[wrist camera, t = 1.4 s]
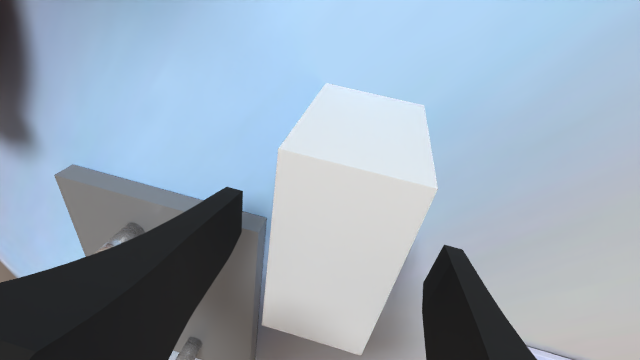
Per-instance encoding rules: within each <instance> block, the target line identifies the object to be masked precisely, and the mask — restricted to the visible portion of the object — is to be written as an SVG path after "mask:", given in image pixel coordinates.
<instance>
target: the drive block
mask: <svg viewBox="0 0 640 360" xmlns="http://www.w3.org/2000/svg"><path fill="white" fill-rule="evenodd" d="M437 190H438V186H437V180H436V174H435V168H434V162H433V156H432V150H431V144H430V137H429V131H428V125H427V119H426V113H425V107H424V105H420V104H416V103H411V102H407V101H402V100H398V99H394V98H389V97H385V96H381V95H376V94H372V93H368V92H363V91H359V90H354V89H350V88H346V87H341V86H337V85H333V84H328V83H325V85H324V86H323V88H322V89H321V90H320V92H319V93H318V94H317V96H316V97H315V99H314V100H313V101H312V103H311V104H310V106H309V107H308V108H307V110H306V111H305V112H304V114H303V115H302V117H301V118H300V119H299V121H298V122H297V123H296V125H295V126H294V128H293V129H292V130H291V132H290V133H289V135H288V136H287V137H286V139H285V140H284V141H283V143H282V144H281V146H280V147H279V148H278V158H277V168H276V179H275V190H274V200H273V211H272V222H271V232H270V243H269V254H268V264H267V275H266V286H265V296H264V307H263V318H262V325H263V326H266V327H270V328H273V329H276V330H279V331H283V332H286V333H289V334H292V335H296V336H299V337H302V338H305V339H309V340H312V341H315V342H318V343H322V344H325V345H328V346H331V347H334V348H338V349H341V350H344V351H347V352H351V353H354V354H357V355H360V356H361V355H362V353H363V351H364V348H365V346H366V344H367V342H368V340H369V338H370V335H371V333H372V331H373V329H374V327H375V325H376V322H377V320H378V318H379V316H380V314H381V311H382V309H383V307H384V305H385V303H386V301H387V298H388V296H389V294H390V292H391V290H392V288H393V285H394V283H395V281H396V279H397V277H398V275H399V272H400V270H401V268H402V266H403V264H404V261H405V259H406V257H407V255H408V253H409V251H410V248H411V246H412V244H413V242H414V240H415V238H416V235H417V233H418V231H419V229H420V227H421V224H422V222H423V220H424V218H425V216H426V214H427V211H428V209H429V207H430V205H431V203H432V201H433V198H434V196H435V194H436V192H437Z"/></svg>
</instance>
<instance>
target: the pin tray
mask: <svg viewBox="0 0 640 360" xmlns="http://www.w3.org/2000/svg"><path fill="white" fill-rule="evenodd" d="M54 176H55V178H56V181H57V183H58V186H59V189H60V191H61V194H62V196H63V199H64V201H65V204H66V207H67V209H68V212H69V214H70V217H71V220H72V222H73V225H74V227H75V230H76V232H77V235H78V238H79V240H80V243H81V245H82V248H83V251H84V253H85V256H86V257H87V256H90V255H92V254H95V253H98V252H101V251H103V250H106V249H109V248H111V247H114V246H116V245H118V244H121V243H123V242H126V241H128V240H130V239H133V238H135V237H137V236H139V235H141V234H143V233H145V232H148V231H150V230H151V229H153V228H155V227H157V226H159V225H161V224H163V223H165V222H167V221H169V220H171V219H173V218H174V217H176V216H178V215H180V214H181V213H183V212H185V211H187V210H188V209H190V208H192V207H194V206H195V205H197V204H199V203H200V202H202V201H203V200H200V199H196V198H192V197H189V196H185V195H181V194H178V193H174V192H171V191H167V190H163V189H160V188H156V187H152V186H149V185H145V184H142V183H138V182H134V181H131V180H127V179H123V178H120V177H116V176H113V175H109V174H105V173H102V172H98V171H94V170H91V169H87V168H84V167H80V166H76V165H71V166H69V167H68V168H66V169H64V170H62V171H61V172H59V173H57V174H55V175H54ZM265 231H266V218H265V217H261V216H257V215H254V214H250V213H247V212H243V211H242V233H241V235H240V237H239V239H238V241H237V243H236V246H235V248H234V250H233V252H232V254H231V256H230V257H229V259H228V260H227V262H226V263H225V265H224V267H223V268H222V270H221V271H220V273H219V274H218V276H217V277H216V279H215V280H214V282H213V283H212V285H211V286H210V288H209V289H208V291H207V292H206V294H205V296H204V297H203V299H202V300H201V302H200V303H199V305H198V306H197V308H196V309H195V311H194V313H193V314H192V316H191V318H190V319H189V321H188V323H187V325H186V327H185V328H184V330H183V332H182V334H181V336H180V338H179V340H178V342H177V344H176V346H175V347H174V349H173V350H174V351H177V352H180V353H179V354H178V356H177V358H176V360H194V359H195V358H198V359H201V360H255V354H256V341H257V329H258V317H259V304H260V292H261V280H262V268H263V255H264V243H265Z"/></svg>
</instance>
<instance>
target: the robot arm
mask: <svg viewBox="0 0 640 360" xmlns="http://www.w3.org/2000/svg"><path fill="white" fill-rule="evenodd" d="M242 198H243V191H240V190H237V189H233V188H229V187H226V188H224V189H222V190H220V191H219V192H217V193H215V194H214V195H212V196H210V197H209V198H207V199H205V200H204V201H202V202H200V203H199V204H197V205H195V206H194V207H192V208H190V209H188V210H187V211H185V212H183V213H181V214H180V215H178V216H176V217H174V218H173V219H171V220H169V221H167V222H165V223H163V224H161V225H159V226H157V227H155V228H153V229H151V230H150V231H148V232H145V233H143V234H141V235H139V236H137V237H135V238H133V239H130V240H128V241H126V242H123V243H121V244H118V245H116V246H114V247H111V248H109V249H106V250H103V251H101V252H98V253H95V254H92V255H90V256H87V257H84V258H81V259H79V260H76V261H73V262H70V263H67V264H64V265H61V266H58V267H55V268H52V269H48V270H45V271H41V272H38V273H35V274H31V275H28V276H24V277H21V278H17V279H13V280H9V281H5V282H1V283H0V360H168V359H169V357H170V355H171V353H172V351H173V349H174V347H175V346H176V344H177V342H178V340H179V338H180V336H181V334H182V332H183V330H184V328H185V327H186V325H187V323H188V321H189V319H190V318H191V316H192V314H193V313H194V311H195V309H196V308H197V306H198V305H199V303H200V302H201V300H202V299H203V297H204V296H205V294H206V292H207V291H208V289H209V288H210V286H211V285H212V283H213V282H214V280H215V279H216V277H217V276H218V274H219V273H220V271H221V270H222V268H223V267H224V265H225V263H226V262H227V260H228V259H229V257H230V256H231V254H232V252H233V250H234V248H235V246H236V243H237V241H238V239H239V237H240V235H241V233H242ZM422 314H423V326H424V338H425V349H426V359H427V360H572V359H568V358H565V357H561V356H558V355H555V354H551V353H548V352H544V351H541V350H537V349H534V348H531V347H527V346H526V345H525V343H524V342H523V341H522V339H521V338H520V336H519V335H518V334H517V332H516V331H515V330H514V328H513V327H512V325H511V324H510V323H509V321H508V320H507V318H506V317H505V316H504V314H503V313H502V311H501V310H500V308H499V307H498V305H497V304H496V302H495V301H494V299H493V298H492V296H491V295H490V293H489V291H488V290H487V288H486V287H485V285H484V284H483V282H482V280H481V279H480V277H479V275H478V274H477V272H476V271H475V269H474V267H473V266H472V264H471V262H470V261H469V259H468V258H467V256H466V254H465V253H464V251H463V250H462V249H458V248H454V247H451V246H447V245H444V246H443V248H442V250H441V252H440V253H439V255H438V257H437V259H436V261H435V263H434V264H433V266H432V268H431V270H430V272H429V274H428V275H427V277H426V279H425V281H424V283H423V303H422Z"/></svg>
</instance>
